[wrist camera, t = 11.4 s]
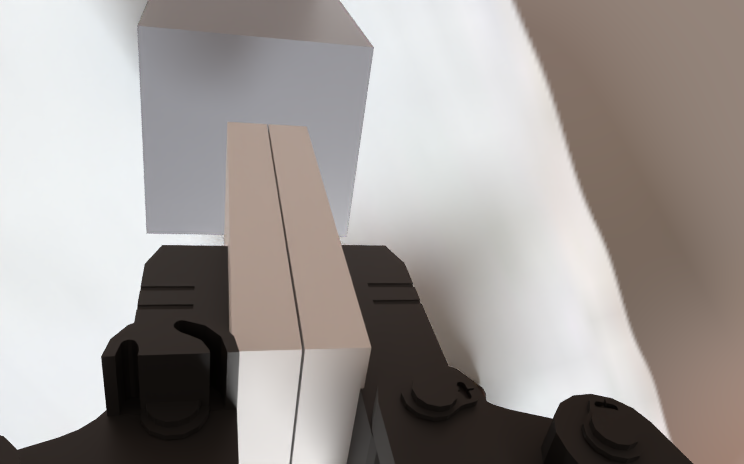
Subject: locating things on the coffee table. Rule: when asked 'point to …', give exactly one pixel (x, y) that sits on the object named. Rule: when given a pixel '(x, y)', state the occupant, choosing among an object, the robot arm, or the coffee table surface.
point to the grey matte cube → (245, 97)
